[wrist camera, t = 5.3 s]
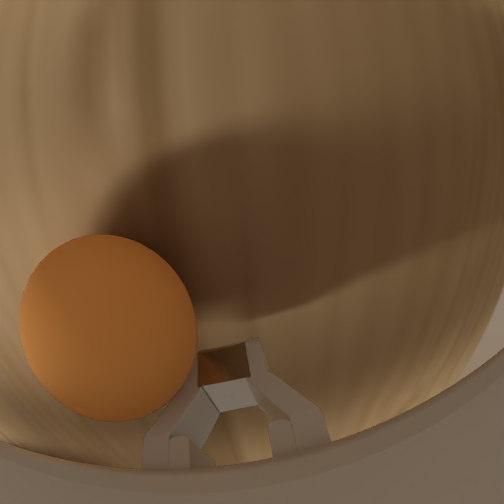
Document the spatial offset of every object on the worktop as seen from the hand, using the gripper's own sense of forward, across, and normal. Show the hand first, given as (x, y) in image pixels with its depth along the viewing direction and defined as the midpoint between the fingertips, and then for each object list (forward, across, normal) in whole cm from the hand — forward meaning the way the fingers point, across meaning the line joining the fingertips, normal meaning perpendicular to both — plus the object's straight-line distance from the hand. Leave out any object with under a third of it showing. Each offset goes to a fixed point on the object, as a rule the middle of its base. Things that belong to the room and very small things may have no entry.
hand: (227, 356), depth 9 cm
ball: (-1, +3, -3) cm, 4 cm away
